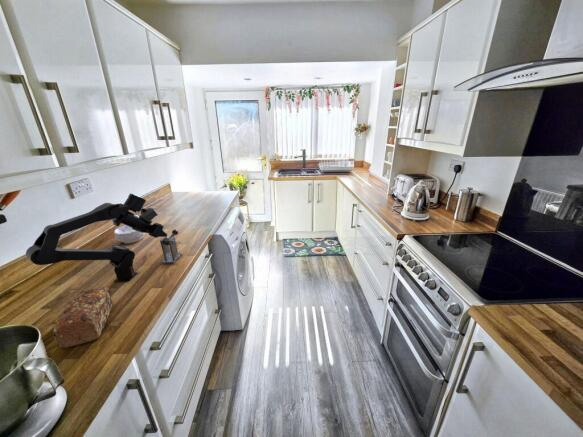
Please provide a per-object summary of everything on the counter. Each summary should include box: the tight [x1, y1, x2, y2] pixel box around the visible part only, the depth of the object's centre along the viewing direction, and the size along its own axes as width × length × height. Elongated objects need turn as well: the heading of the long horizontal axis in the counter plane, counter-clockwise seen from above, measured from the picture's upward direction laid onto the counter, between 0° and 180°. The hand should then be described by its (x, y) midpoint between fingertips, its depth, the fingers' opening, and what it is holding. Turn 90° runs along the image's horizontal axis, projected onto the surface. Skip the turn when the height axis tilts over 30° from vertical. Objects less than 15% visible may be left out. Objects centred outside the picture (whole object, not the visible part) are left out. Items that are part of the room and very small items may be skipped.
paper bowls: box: [113, 224, 147, 244], centre depth 141 cm, size 15×15×8 cm
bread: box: [52, 286, 114, 348], centre depth 80 cm, size 19×11×10 cm, turn 22°
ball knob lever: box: [164, 228, 179, 245], centre depth 120 cm, size 11×3×3 cm, turn 179°
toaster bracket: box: [159, 236, 183, 265], centre depth 118 cm, size 9×6×12 cm, turn 179°
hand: (162, 234), depth 118 cm, fingers open, 7 cm apart
